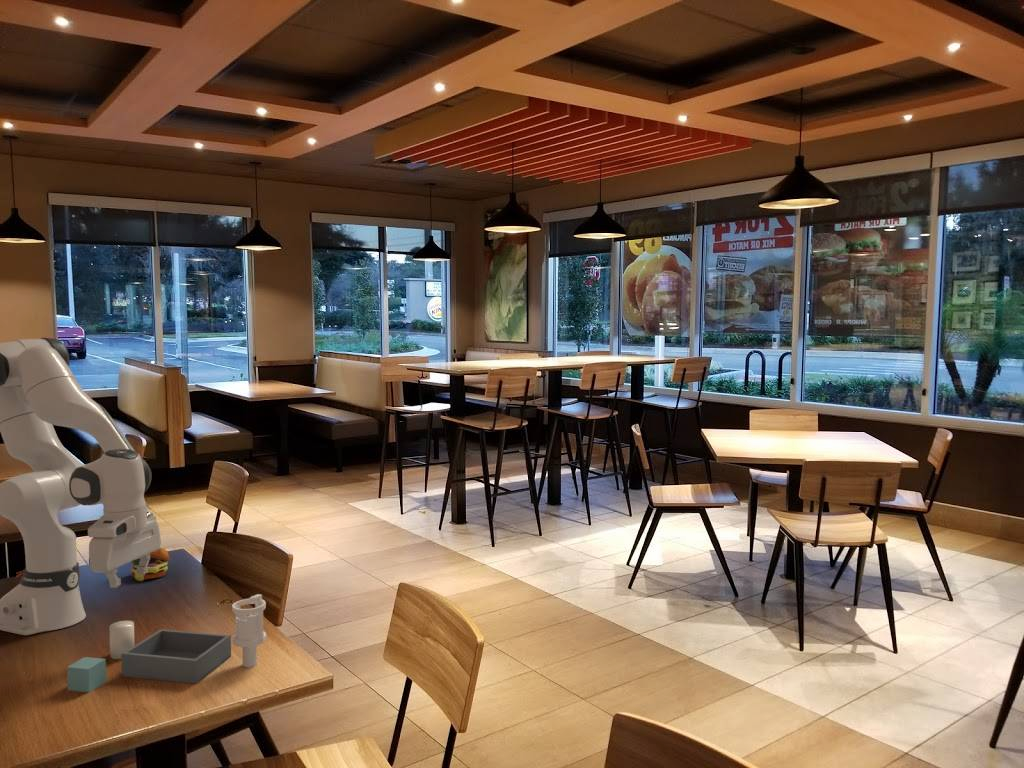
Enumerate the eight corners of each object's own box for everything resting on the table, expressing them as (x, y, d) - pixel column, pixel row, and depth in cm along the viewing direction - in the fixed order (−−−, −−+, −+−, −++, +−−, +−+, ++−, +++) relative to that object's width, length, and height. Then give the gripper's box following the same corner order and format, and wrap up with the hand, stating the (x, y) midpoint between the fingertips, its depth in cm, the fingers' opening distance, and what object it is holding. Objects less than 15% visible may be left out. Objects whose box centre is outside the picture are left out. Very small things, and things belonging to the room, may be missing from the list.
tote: (122, 676, 165) (121, 653, 165) (161, 650, 179) (160, 629, 178) (196, 683, 162) (196, 660, 162) (231, 656, 176) (230, 635, 175)
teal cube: (67, 690, 159) (67, 667, 158) (85, 679, 164) (84, 656, 163) (89, 692, 158) (88, 669, 158) (106, 681, 163) (105, 658, 163)
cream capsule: (105, 658, 174) (104, 628, 174) (120, 649, 179) (119, 619, 178) (125, 660, 173) (124, 629, 173) (139, 650, 178) (138, 621, 178)
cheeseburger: (121, 580, 226) (125, 546, 227) (143, 578, 236) (147, 544, 238) (152, 582, 224) (156, 547, 226) (174, 579, 235) (177, 546, 236)
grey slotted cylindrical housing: (273, 661, 173) (272, 596, 172) (250, 673, 167) (249, 606, 166) (249, 655, 176) (248, 591, 175) (226, 667, 170) (225, 601, 169)
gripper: (142, 510, 186) (145, 566, 187) (81, 531, 166) (85, 594, 167) (166, 510, 185) (169, 566, 186) (107, 532, 165) (111, 595, 166)
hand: (129, 580), depth 176 cm, fingers open, 8 cm apart
